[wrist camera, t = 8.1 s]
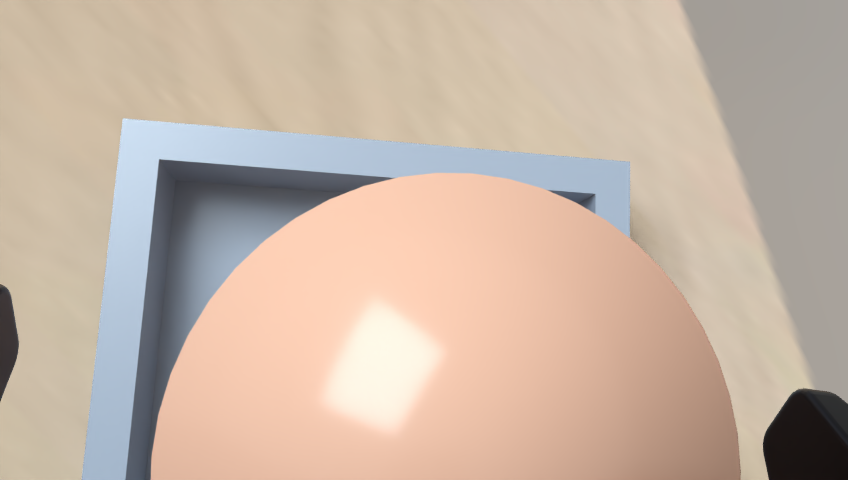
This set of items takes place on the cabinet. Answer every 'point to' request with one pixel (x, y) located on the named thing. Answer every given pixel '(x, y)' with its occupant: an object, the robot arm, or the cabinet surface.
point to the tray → (245, 241)
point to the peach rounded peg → (447, 349)
